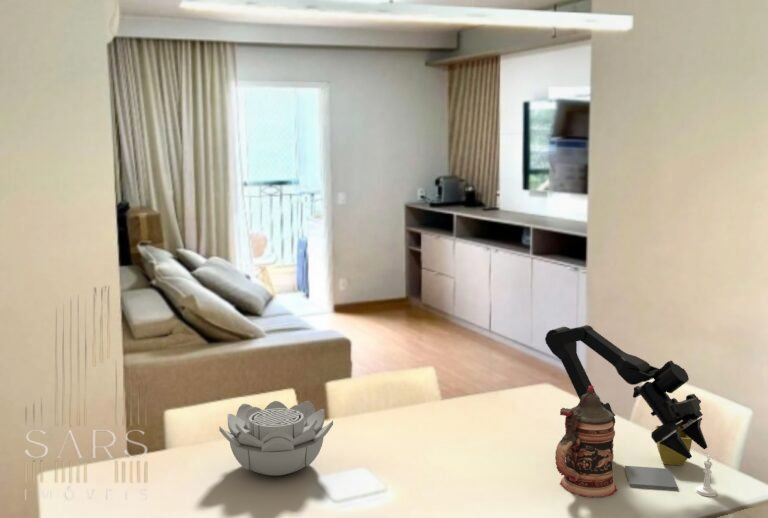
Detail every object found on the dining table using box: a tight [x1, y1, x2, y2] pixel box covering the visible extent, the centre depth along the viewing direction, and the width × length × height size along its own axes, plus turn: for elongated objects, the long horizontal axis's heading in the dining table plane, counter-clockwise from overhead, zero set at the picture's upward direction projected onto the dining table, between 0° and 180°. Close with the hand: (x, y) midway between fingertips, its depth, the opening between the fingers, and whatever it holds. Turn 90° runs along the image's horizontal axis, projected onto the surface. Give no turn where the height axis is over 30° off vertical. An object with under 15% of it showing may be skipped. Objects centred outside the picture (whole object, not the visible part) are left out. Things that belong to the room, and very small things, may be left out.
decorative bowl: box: [218, 400, 334, 476], centre depth 221 cm, size 30×30×15 cm
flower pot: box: [655, 425, 693, 466], centre depth 225 cm, size 9×9×9 cm
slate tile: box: [624, 465, 679, 491], centre depth 215 cm, size 12×12×1 cm
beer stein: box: [554, 385, 618, 498], centre depth 209 cm, size 17×28×18 cm
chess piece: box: [695, 454, 717, 497], centre depth 206 cm, size 5×5×10 cm
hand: (698, 453), depth 207 cm, fingers open, 9 cm apart
